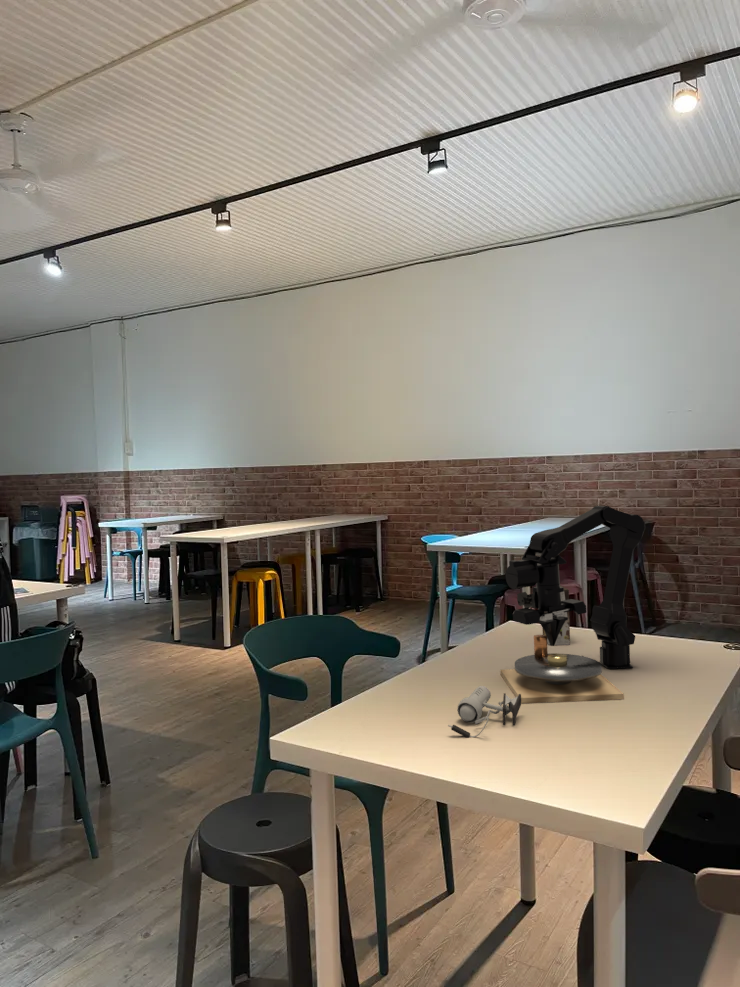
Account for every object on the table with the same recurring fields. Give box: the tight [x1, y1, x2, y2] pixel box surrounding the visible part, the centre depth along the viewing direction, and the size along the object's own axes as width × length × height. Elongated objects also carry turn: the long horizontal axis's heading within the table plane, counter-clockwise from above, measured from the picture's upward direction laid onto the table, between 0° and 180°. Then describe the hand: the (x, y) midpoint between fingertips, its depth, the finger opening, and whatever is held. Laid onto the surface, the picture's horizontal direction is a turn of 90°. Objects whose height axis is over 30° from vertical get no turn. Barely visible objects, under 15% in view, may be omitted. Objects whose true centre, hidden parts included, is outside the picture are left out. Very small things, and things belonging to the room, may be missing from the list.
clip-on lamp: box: [447, 685, 522, 739], centre depth 149 cm, size 12×6×18 cm
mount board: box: [499, 668, 625, 704], centre depth 173 cm, size 23×23×4 cm
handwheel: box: [514, 634, 603, 682], centre depth 173 cm, size 20×20×6 cm
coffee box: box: [542, 584, 571, 646], centre depth 216 cm, size 9×6×16 cm
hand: (552, 645), depth 181 cm, fingers closed
